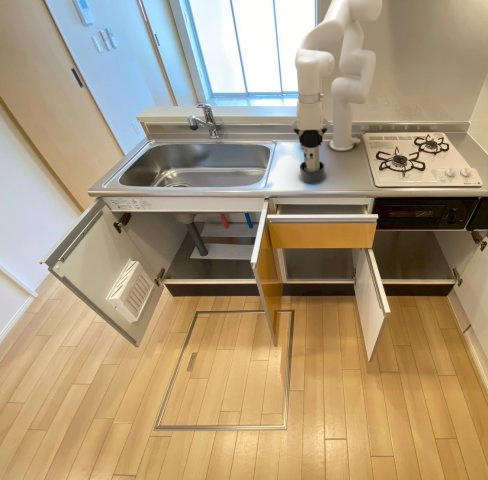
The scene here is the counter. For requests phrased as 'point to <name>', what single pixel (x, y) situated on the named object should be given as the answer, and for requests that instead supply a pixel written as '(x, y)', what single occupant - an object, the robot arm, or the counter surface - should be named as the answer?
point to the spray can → (311, 150)
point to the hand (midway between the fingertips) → (311, 143)
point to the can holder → (312, 174)
